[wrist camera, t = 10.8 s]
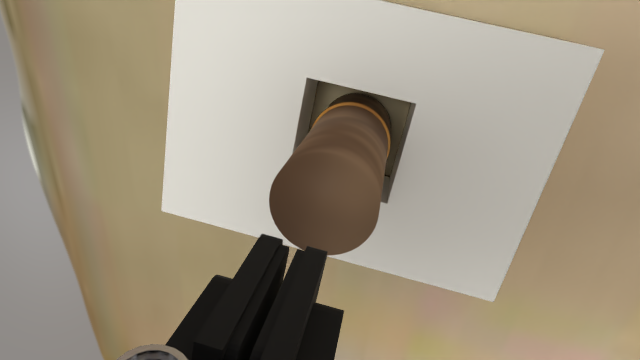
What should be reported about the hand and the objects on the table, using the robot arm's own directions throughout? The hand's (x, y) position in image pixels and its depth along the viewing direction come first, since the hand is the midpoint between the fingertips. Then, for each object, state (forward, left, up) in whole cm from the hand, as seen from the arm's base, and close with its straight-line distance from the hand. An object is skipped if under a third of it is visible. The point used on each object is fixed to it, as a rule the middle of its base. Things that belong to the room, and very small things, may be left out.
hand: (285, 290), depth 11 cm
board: (0, 0, -17) cm, 17 cm away
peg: (0, 0, -17) cm, 17 cm away
